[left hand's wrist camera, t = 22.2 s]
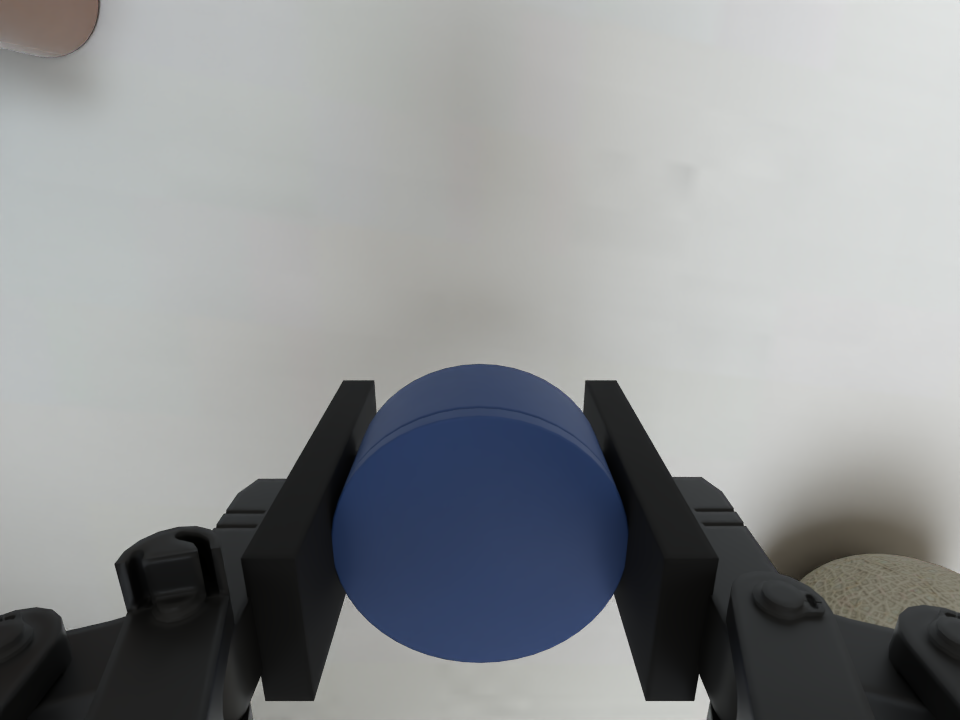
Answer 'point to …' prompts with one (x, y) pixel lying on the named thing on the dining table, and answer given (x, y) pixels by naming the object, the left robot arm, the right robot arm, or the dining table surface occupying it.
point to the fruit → (883, 586)
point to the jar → (46, 25)
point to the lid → (479, 517)
